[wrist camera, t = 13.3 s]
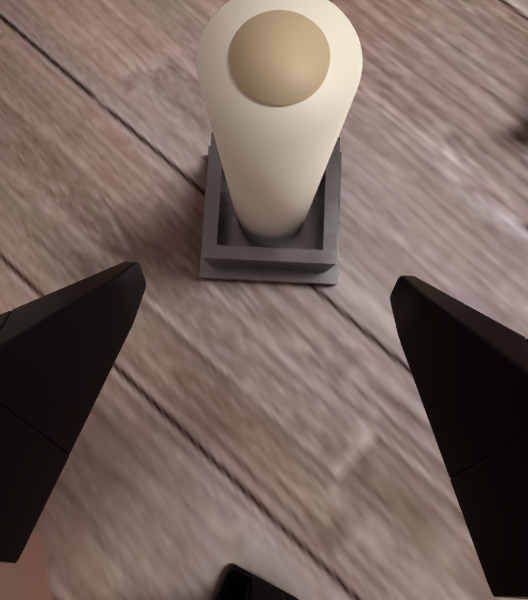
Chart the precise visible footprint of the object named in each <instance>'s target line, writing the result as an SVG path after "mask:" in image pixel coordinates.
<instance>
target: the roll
mask: <svg viewBox="0 0 528 600" xmlns="http://www.w3.org/2000/svg"><path fill="white" fill-rule="evenodd" d="M196 66H197V75H198V79H199V84H200V87H201V91H202V94H203V98H204V102H205V105H206V109H207V112H208V116H209V120H210V123H211V127H212V130H213V134H214V138H215V141H216V145H217V149H218V152H219V156H220V159H221V163H222V167H223V170H224V174H225V177H226V181H227V185H228V188H229V192H230V195H231V199H232V203H233V206H234V210H235V214H236V217H237V221H238V224H239V227H240V229H241V231H242V232H243V234H244V235H245V236H246V237H247V238H248V239H249V240H251V241H252V242H254V243H256V244H258V245H261V246H265V247H277V246H281V245H284V244H286V243H288V242H290V241H291V240H293V239H294V238H295V237H296V236H297V234H298V233H299V232H300V230H301V228H302V226H303V224H304V221H305V219H306V216H307V214H308V211H309V209H310V206H311V204H312V201H313V199H314V196H315V194H316V191H317V189H318V186H319V184H320V181H321V179H322V176H323V174H324V171H325V169H326V166H327V164H328V161H329V159H330V156H331V154H332V151H333V149H334V146H335V143H336V141H337V138H338V136H339V133H340V131H341V128H342V126H343V123H344V121H345V118H346V116H347V113H348V111H349V108H350V106H351V103H352V101H353V98H354V96H355V93H356V91H357V88H358V85H359V82H360V79H361V73H362V51H361V46H360V42H359V39H358V36H357V34H356V32H355V29H354V28H353V26H352V24H351V23H350V21H349V20H348V18H347V17H346V16H345V15H344V14H343V12H342V11H341V10H340V9H338V8H337V7H336V6H335V5H334V4H333V3H331V2H330V1H328V0H230V1H229V2H227V3H226V4H225V5H224V6H222V7H221V8H220V9H219V10H218V11H217V12H216V13H215V14H214V16H213V17H212V18H211V19H210V21H209V22H208V24H207V25H206V27H205V29H204V31H203V33H202V36H201V38H200V41H199V45H198V49H197V58H196Z"/></svg>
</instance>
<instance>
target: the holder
mask: <svg viewBox="0 0 528 600" xmlns="http://www.w3.org/2000/svg"><path fill="white" fill-rule="evenodd" d="M339 149H340V137H338V138H337V141H336V143H335V146H334V149H333V151H332V154H331V156H330V159H329V161H328V164H327V166H326V169H325V171H324V174H323V176H322V179H321V181H320V184H319V186H318V189H317V191H316V194H315V196H314V199H313V201H312V204H311V206H310V209H309V211H308V214H307V216H306V219H305V221H304V224H303V226H302V228H301V230H300V232H299V233H298V234H297V236H296V237H295V238H294V239H293V240H291V241H290V242H288V243H286V244H284V245H281V246H277V247H265V246H261V245H258V244H256V243H254V242H252V241H251V240H249V239H248V238H247V237H246V236H245V235H244V234H243V232H242V231H241V229H240V227H239V224H238V221H237V217H236V214H235V210H234V206H233V203H232V199H231V195H230V192H229V188H228V185H227V181H226V177H225V174H224V170H223V167H222V163H221V159H220V156H219V152H218V149H217V145H216V141H215V138H214V134H213V132H212V135H211V146H209V151H208V164H207V177H206V191H205V204H204V217H203V231H202V244H201V258H200V271H199V277H200V278H201V279H214V280H234V281H254V282H274V283H293V284H313V285H333V286H335V285H337V284H338V259H339V223H340V188H341V152H339Z"/></svg>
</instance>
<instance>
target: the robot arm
mask: <svg viewBox="0 0 528 600" xmlns="http://www.w3.org/2000/svg"><path fill="white" fill-rule="evenodd" d="M145 288H146V282H145V278H144V275H143V273H142V270H141V267H140V265H139V263H137V262H127V261H126V262H123V263H120V264H118V265H116V266H113V267H111V268H109V269H106V270H104V271H102V272H99V273H97V274H95V275H92V276H90V277H88V278H85V279H83V280H81V281H78V282H76V283H74V284H71V285H69V286H67V287H64V288H62V289H60V290H57V291H55V292H53V293H50V294H48V295H46V296H43V297H41V298H39V299H36V300H34V301H32V302H29V303H27V304H25V305H22V306H20V307H18V308H15V309H13V310H12V311H8V312H6V313H3V314H1V315H0V562H4V563H16V562H17V560H18V559H19V557H20V555H21V553H22V551H23V550H24V548H25V546H26V543H27V541H28V539H29V537H30V535H31V533H32V531H33V529H34V527H35V525H36V523H37V521H38V519H39V517H40V515H41V513H42V511H43V509H44V506H45V504H46V502H47V500H48V498H49V496H50V494H51V492H52V490H53V488H54V486H55V484H56V482H57V480H58V478H59V476H60V474H61V472H62V470H63V467H64V465H65V463H66V461H67V459H68V457H69V454H70V453H71V451H72V449H73V446H74V444H75V442H76V440H77V438H78V436H79V434H80V432H81V430H82V428H83V426H84V424H85V422H86V420H87V418H88V416H89V414H90V411H91V409H92V407H93V405H94V403H95V401H96V399H97V397H98V395H99V393H100V391H101V389H102V387H103V385H104V383H105V381H106V379H107V376H108V374H109V372H110V370H111V368H112V366H113V364H114V362H115V360H116V358H117V356H118V354H119V352H120V350H121V348H122V346H123V344H124V341H125V339H126V337H127V335H128V333H129V331H130V329H131V327H132V325H133V322H134V320H135V317H136V314H137V311H138V308H139V306H140V303H141V300H142V297H143V294H144V291H145ZM390 302H391V306H392V310H393V315H394V319H395V324H396V328H397V332H398V336H399V339H400V342H401V345H402V348H403V351H404V353H405V356H406V359H407V362H408V364H409V367H410V370H411V373H412V375H413V378H414V381H415V384H416V386H417V389H418V392H419V395H420V397H421V400H422V403H423V406H424V408H425V411H426V414H427V417H428V419H429V422H430V425H431V428H432V430H433V433H434V436H435V439H436V441H437V444H438V447H439V450H440V452H441V455H442V458H443V461H444V464H445V466H446V469H447V472H448V475H449V477H450V478H451V479H450V481H451V483H452V486H453V489H454V492H455V494H456V497H457V500H458V503H459V505H460V508H461V511H462V514H463V516H464V519H465V522H466V525H467V527H468V530H469V533H470V536H471V538H472V541H473V544H474V547H475V549H476V552H477V555H478V558H479V560H480V563H481V566H482V569H483V571H484V574H485V577H486V580H487V582H488V585H489V587H490V590H491V592H492V594H493V596H494V597H504V598H518V599H528V339H526V338H525V337H524V336H522V335H520V334H518V333H516V332H515V331H513V330H511V329H509V328H507V327H505V326H504V325H502V324H500V323H498V322H496V321H495V320H493V319H491V318H489V317H487V316H485V315H484V314H482V313H480V312H478V311H476V310H475V309H473V308H471V307H469V306H467V305H466V304H464V303H462V302H460V301H458V300H456V299H455V298H453V297H451V296H449V295H447V294H446V293H444V292H442V291H440V290H438V289H436V288H435V287H433V286H431V285H429V284H427V283H426V282H424V281H422V280H420V279H418V278H417V277H415V276H400V277H399V278H398V280H397V282H396V284H395V287H394V289H393V291H392V293H391V296H390ZM231 573H234V574H235V575H232V574H231ZM214 600H298V599H297V598H295V597H293V596H291V595H290V594H288V593H286V592H284V591H282V590H280V589H279V588H277V587H275V586H273V585H271V584H269V583H268V582H266V581H264V580H262V579H260V578H258V577H256V576H255V575H253V574H251V573H249V572H247V571H245V570H244V569H242V568H240V567H238V566H236V565H231V566H229V568H228V570H227V572H226V574H225V576H224V578H223V580H222V583H221V585H220V587H219V589H218V591H217V593H216V596H215V598H214Z"/></svg>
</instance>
